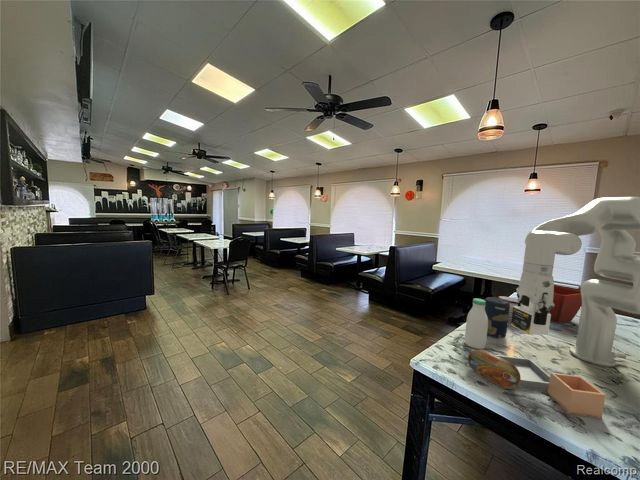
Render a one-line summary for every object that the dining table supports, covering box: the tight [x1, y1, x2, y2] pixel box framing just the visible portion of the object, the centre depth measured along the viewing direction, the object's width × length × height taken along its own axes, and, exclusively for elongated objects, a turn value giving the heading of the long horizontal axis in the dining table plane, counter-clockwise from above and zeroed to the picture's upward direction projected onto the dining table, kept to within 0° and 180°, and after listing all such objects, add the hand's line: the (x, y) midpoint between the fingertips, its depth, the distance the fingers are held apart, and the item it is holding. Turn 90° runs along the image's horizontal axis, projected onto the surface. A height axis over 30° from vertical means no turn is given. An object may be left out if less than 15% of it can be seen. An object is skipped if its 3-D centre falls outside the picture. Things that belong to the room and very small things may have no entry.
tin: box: [467, 349, 521, 390], centre depth 83 cm, size 15×3×8 cm, turn 32°
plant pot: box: [549, 284, 582, 324], centre depth 136 cm, size 19×19×17 cm
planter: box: [547, 372, 606, 419], centre depth 72 cm, size 8×8×7 cm
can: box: [498, 295, 518, 324], centre depth 132 cm, size 11×11×12 cm
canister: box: [484, 296, 510, 339], centre depth 114 cm, size 10×10×18 cm
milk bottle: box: [464, 297, 488, 350], centre depth 104 cm, size 8×8×20 cm
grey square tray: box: [494, 354, 550, 392], centre depth 86 cm, size 14×14×2 cm
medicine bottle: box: [510, 295, 551, 336], centre depth 84 cm, size 7×7×12 cm
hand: (530, 318), depth 84 cm, fingers closed on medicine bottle, 8 cm apart
